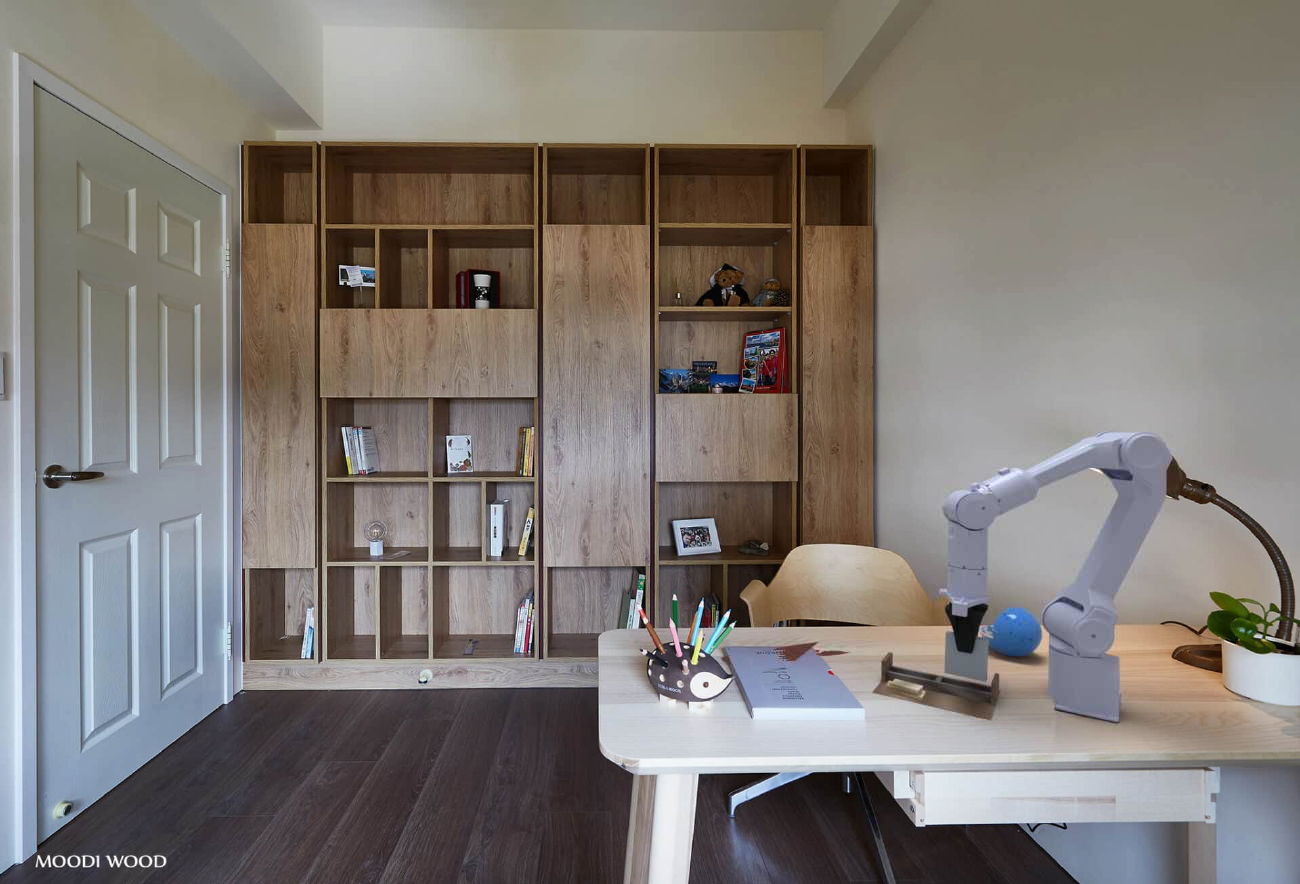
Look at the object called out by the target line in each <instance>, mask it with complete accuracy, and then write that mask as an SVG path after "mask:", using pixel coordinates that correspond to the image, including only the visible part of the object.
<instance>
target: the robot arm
mask: <svg viewBox="0 0 1300 884" xmlns="http://www.w3.org/2000/svg"><path fill="white" fill-rule="evenodd" d="M1172 461H1173V455H1172V453H1171V451H1170V449H1169V448H1168V446H1167V444H1166V442H1165V441H1164V439H1163V438H1162V437H1160V436H1159V435H1158V434H1156V433H1153V432H1151V431H1137V432H1132V431H1131V432H1124V431H1122V432H1120V431H1118V432H1117V431H1112V430H1110V431H1109V430H1107V431H1101V432H1099V433H1098V434H1095V436H1089V437H1086V438H1084V439H1082V440H1080V441H1079V442H1077V443H1075V444H1073V445H1072V446H1070V447H1068V448H1066V449H1063V450H1062V451H1060V452H1058V453H1057V454H1055V455H1053V456H1051V457H1049V458H1047V459H1045V460H1043V461H1041V462H1039V463H1038V464H1036V465H1034V466H1031V467H1030V468H1028V469H1026V470H1025V469H1024V470H1023V469H1022V468H1020V467H1019V468H1018V467H1012V468H1009V467H1002V468H1000V469H998V470H997V473H998V474H997V475H995V476H993V477H990V478H988V479H986V480H984V481H982V482H980V483H979V482H977V481H975V482H973V483H971V484H970V489H969V490H966V489H959V490H956V491H954V492H952V493H950V494H949V495H948V498H946V499H945V502H944V505H942V507H941V508H942V513H943V515H944V518H946V520H947V521H948V532H947V533H948V535H947V575H946V576H947V580H946V581H947V582H946V584H947V585H946V586H947V587H946V588H940V589H939V591H938V594H939V596H944V597H946V598H947V599H948V600H949V603H948V604H946V605H945V606H944V611H945V614H946V616H947V618H948V620H949V622H950V625H951V629H952V632H954V637H955V643H956V647H957V650H958V651H959V652H964V653H969V654H972V652H973V649H974V646H975V640H976V636H978V637H979V633H980V631H979V628H980V627H981V624H982V621H983V618H984V616H985V615H986V613H987V611H988V610H989V605H988V604H987V602H988V601H989V594H988V561H989V560H988V559H989V558H988V554H989V553H988V551H989V549H988V547H989V538H988V537H989V535H988V533H989V531H988V530H989V527H990V526H991V525H992V524H993V523H994V521H995V519H996V518H997V517H999V516H1002V515H1004V514H1006V513H1008V512H1010V511H1012V510H1014V509H1017V508H1019V507H1021V506H1023V505H1025V504H1028V503H1030V502H1031V501H1034V500H1035V499H1036V497H1037V494H1038V492H1039V489H1041V488H1043V487H1046V486H1048V485H1050V484H1053V483H1055V482H1058V481H1060V480H1063V479H1065V478H1068V477H1071V476H1073V475H1074V474H1078V473H1080V472H1083V471H1085V470H1087V469H1097V470H1099V471H1100V472H1101V474H1103V475H1104V476H1105V477H1106V478H1107V479H1109V481H1110V482H1111V484H1112V486H1113V488H1114V490H1115V491H1116V493H1117V498H1116V500H1115V502H1114V504H1113V506H1112V508H1111V509H1110V511H1109V514H1108V515H1107V517H1106V520H1105V522H1104V523H1103V525H1102V528H1101V529H1100V531H1099V533H1098V535H1097V538H1096V539H1095V541H1094V542H1093V545H1092V547H1091V548H1090V551H1089V553H1088V555H1087V556H1086V559H1085V560H1084V562H1083V565H1081V568H1080V570H1079V571H1078V574H1077V576H1076V578H1075V580H1074V582H1073V583H1072V584H1069V585H1066V586H1064V587H1063V588H1061V589H1060V590H1059V591H1058V593H1057V595H1056V597H1055V598H1054V599H1052V600H1051V601H1050V602H1049V603H1047V604H1045V606H1044V608H1043V609H1042V611H1041V614H1040V615H1041V616H1040V621H1041V625H1042V627H1043V628H1044V630H1045V631H1046V632H1047V633H1048V671H1047V672H1048V673H1047V674H1048V676H1047V678H1048V679H1047V689H1048V690H1047V696H1048V697H1049V698H1050V699H1051V700H1053V701H1055V703H1054V709H1055V710H1059V711H1063V712H1068V713H1073V714H1078V715H1081V716H1087V717H1092V718H1095V719H1096V718H1097V719H1100V720H1105V721H1110V722H1115V723H1119V722H1120V707H1121V706H1122V693H1120V684H1121V683H1120V682H1121V681H1120V678H1121V676H1120V674H1121V671H1120V666H1121V665H1120V656H1118V655H1115V654H1114V655H1112V654H1109V653H1107V652H1108V651H1109V650H1110V649H1111V648H1112V646H1113V644H1114V642H1115V637H1116V636H1115V634H1116V633H1115V628H1116V624H1117V622H1118V620H1119V619H1120V618H1119V617H1120V616H1119V613H1118V610H1117V608H1116V605H1115V602H1114V599H1115V597H1116V595H1117V594H1118V591H1119V589H1121V586H1122V584H1123V582H1124V580H1125V579H1126V576H1127V574H1128V572H1129V570H1130V568H1131V567H1132V565H1133V562H1134V561H1135V559H1136V556H1137V555H1138V554H1139V551H1140V549H1141V548H1142V544H1144V542H1145V540H1146V538H1147V535H1148V534H1149V532H1150V529H1151V527H1152V526H1153V524H1154V522H1155V520H1156V518H1157V516H1158V515H1159V512H1160V511H1161V509H1162V507H1163V505H1164V503H1165V501H1166V497H1167V470H1168V468H1169V466H1170V464H1171V463H1172Z"/></svg>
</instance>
